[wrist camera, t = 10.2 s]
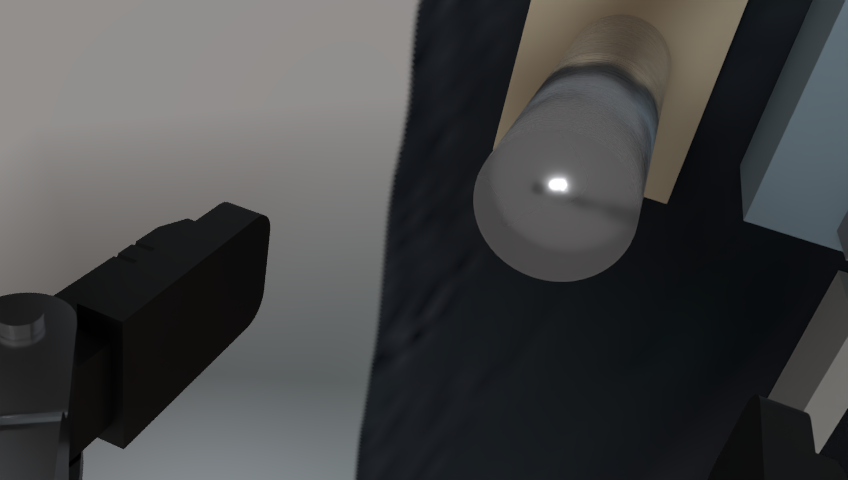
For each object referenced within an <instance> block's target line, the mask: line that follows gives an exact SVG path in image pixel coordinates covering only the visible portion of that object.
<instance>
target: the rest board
mask: <svg viewBox="0 0 848 480" xmlns="http://www.w3.org/2000/svg"><path fill="white" fill-rule="evenodd" d="M747 2H748V0H531V3H530V7H529V11H528V15H527V19H526V23H525V27H524V30H523V34H522V38H521V42H520V46H519V50H518V54H517V58H516V62H515V65H514V69H513V73H512V77H511V81H510V85H509V89H508V93H507V96H506V100H505V104H504V108H503V112H502V116H501V120H500V124H499V127H498V131H497V135H496V139H495V143H494V147H493V149H495V148H496V146H497V145H498V144H499V142H500V141H501V139H502V138H503V137H504V135H505V134H506V133H507V131H508V130H509V129H510V127H511V126H512V125H513V123H514V122H515V120H516V119H517V118H518V116H519V115H520V114H521V112H522V111H523V110H524V108H525V107H526V106H527V104H528V103H529V101H530V100H531V99H532V97H533V96H534V95H535V93H536V92H537V91H538V89H539V88H540V87H541V85H542V84H543V82H544V81H545V80H546V78H547V77H548V76H549V74H550V73H551V72H552V70H553V69H554V68H555V66H556V65H557V63H558V62H559V61H560V59H561V58H562V57H563V55H564V54H565V53H566V51H567V50H568V49H569V47H570V46H571V44H572V43H573V42H574V40H575V39H576V38H577V36H578V35H579V34H580V33H581V32H582V30H583V29H585V28H586V27H587V26H588V25H589V24H591V23H592V22H594V21H596V20H598V19H600V18H603V17H606V16H610V15H617V14H624V15H631V16H636V17H639V18H641V19H643V20H645V21H647V22H649V23H650V24H651V25H653V26H654V27H655V28H656V29H657V30H658V31H659V32H660V33H661V35H662V36H663V38H664V39H665V41H666V44H667V46H668V49H669V53H670V60H671V62H670V73H669V78H668V83H667V87H666V92H665V97H664V102H663V106H662V111H661V116H660V121H659V125H658V130H657V135H656V140H655V144H654V149H653V154H652V158H651V163H650V168H649V173H648V177H647V182H646V187H645V192H644V196H643V197H646V198H649V199H653V200H656V201H659V202H662V203H665V204H667V202H668V200H669V197H670V195H671V192H672V190H673V187H674V185H675V182H676V180H677V177H678V175H679V172H680V170H681V167H682V165H683V162H684V160H685V157H686V155H687V152H688V150H689V147H690V145H691V142H692V140H693V137H694V135H695V132H696V130H697V127H698V125H699V122H700V119H701V117H702V114H703V112H704V109H705V107H706V104H707V102H708V99H709V97H710V94H711V92H712V89H713V87H714V84H715V82H716V79H717V77H718V74H719V72H720V69H721V67H722V64H723V62H724V59H725V57H726V54H727V52H728V49H729V47H730V44H731V42H732V39H733V37H734V34H735V32H736V29H737V27H738V24H739V22H740V19H741V17H742V14H743V12H744V9H745V7H746V4H747Z"/></svg>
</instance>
